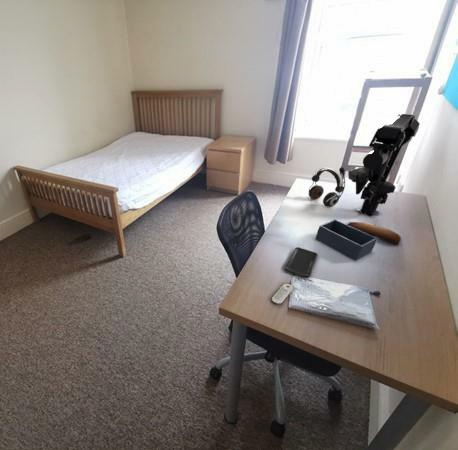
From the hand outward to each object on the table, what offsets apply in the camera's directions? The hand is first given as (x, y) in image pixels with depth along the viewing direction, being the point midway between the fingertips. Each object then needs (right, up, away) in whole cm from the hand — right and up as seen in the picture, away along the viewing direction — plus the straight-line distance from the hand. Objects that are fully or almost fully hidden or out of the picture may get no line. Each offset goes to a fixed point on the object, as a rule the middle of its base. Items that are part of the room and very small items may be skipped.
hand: (363, 199), depth 111 cm
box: (-10, -18, -3) cm, 21 cm away
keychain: (-43, -32, -23) cm, 58 cm away
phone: (-30, -24, -10) cm, 40 cm away
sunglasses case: (+6, -14, +3) cm, 16 cm away
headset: (-1, +1, +28) cm, 28 cm away
